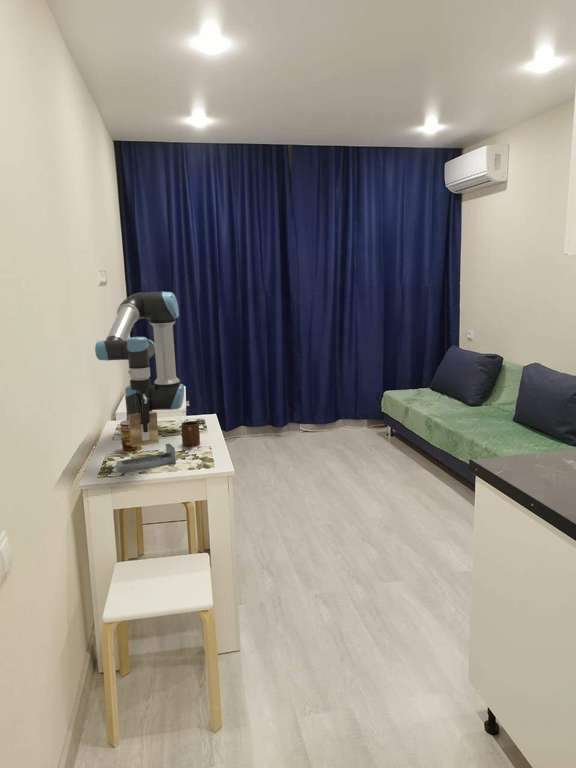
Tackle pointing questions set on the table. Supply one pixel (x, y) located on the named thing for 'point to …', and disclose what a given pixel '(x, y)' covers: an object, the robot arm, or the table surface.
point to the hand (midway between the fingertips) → (144, 438)
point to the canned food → (127, 438)
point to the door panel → (136, 429)
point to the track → (148, 460)
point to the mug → (190, 433)
